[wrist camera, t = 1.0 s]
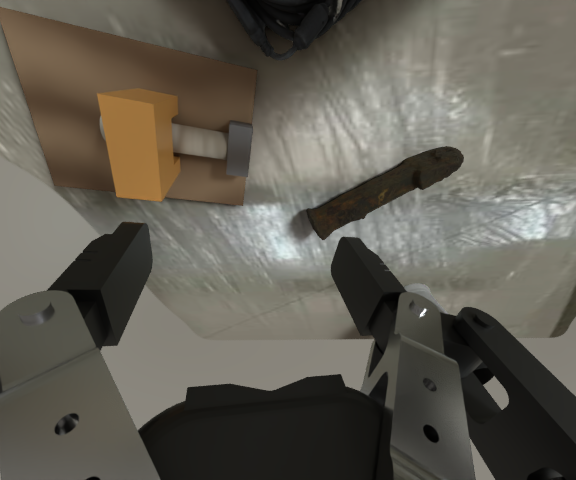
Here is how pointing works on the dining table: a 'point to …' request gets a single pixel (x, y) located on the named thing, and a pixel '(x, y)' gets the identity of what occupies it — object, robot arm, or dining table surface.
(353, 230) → the dining table surface
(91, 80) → the wooden base plate
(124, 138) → the notched block
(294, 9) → the cable
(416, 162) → the dark brown tapered rod
